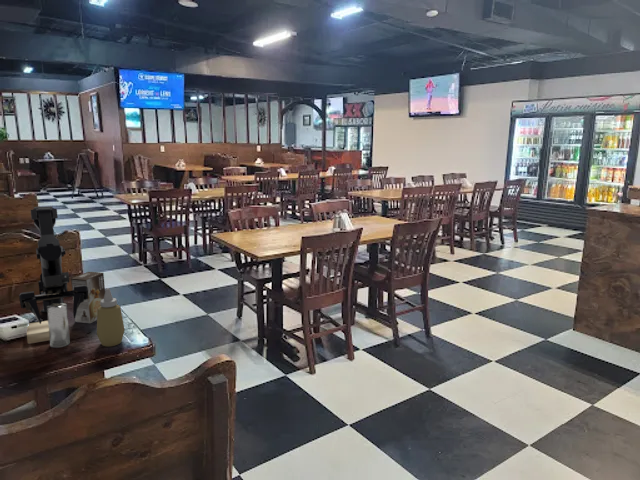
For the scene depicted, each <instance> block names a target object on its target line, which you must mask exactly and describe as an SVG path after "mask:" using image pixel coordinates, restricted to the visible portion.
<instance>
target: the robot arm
mask: <svg viewBox="0 0 640 480" xmlns="http://www.w3.org/2000/svg"><path fill="white" fill-rule="evenodd" d="M30 217H31V218H30V219H31V221H33V225H34V227H36V229H37V230H38V231H39V237H40V238H39V239H38V241H37V247H35V251H36V260H39V262H40V264H41V273H40V275H39V279H40V280H39V281H38V282H37V283H38V290H39V292H38V293H39V294H35V291H34V290H33V291H25V292H20V294H19V295H18V297H19V304H20V308H21V309H25V310H26V311H31V313H33V315H34V316H35V318H36V320H37V322H39V323H40V324H41V322H42V318H41V314H40V313H47V306H49V305H51V304H56V303H64V298H65V299H66V298H71V297H72V298H73V296H74V302H73V303H72V304H73V307H72V309H73V310H72V315H73V319H75V317H76V313H77V309H78V307H79V305H80V303H81V302H84V300H86V299H88V287H87V286H86V285H80V286H74V290H72V289H71V290H68V283H70V275H69V274H70V273H69V271H67V272H66V271H65V272H63V268H62V262H63V261H62V258H63V257H65V255H66V250H65V248H64V247H63V245H60V244H61V243H60V239H58V238H57V237H56V236H55V232H54V227H55V226H56V222H57V221H56V220H57V219H58V218H59V217H58V209H57V208H54V207H53V205H52V206H51V205H50V206H49V205H48V206H35V207H33V209H30ZM37 302H42V308H43V309H41V310H40V311H39V306H38V303H37ZM67 309H68V305H67Z"/></svg>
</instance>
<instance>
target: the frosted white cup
mask: <svg viewBox="0 0 640 480" xmlns="http://www.w3.org/2000/svg"><path fill="white" fill-rule="evenodd" d="M67 306H68V304H67V303H56V304H51V305H49V306H47V312H46V314H47V321H48V327H49V337H50V340H49V346H50V347H51V348H57V349H58V348H63V347H67V346H69V345H70V343H71V341H70V340H71V339H70V328H69V327H70V326H69V314H68V313H69V312H68V308H67Z"/></svg>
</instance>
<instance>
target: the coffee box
mask: <svg viewBox="0 0 640 480" xmlns="http://www.w3.org/2000/svg"><path fill="white" fill-rule="evenodd" d="M70 281H71V291H72V290H74V286H80V285H86V286H87V287H88V299H86V300H84V302H81V303H80V305H79V307H78V309H77V313H76V317H75V318H74V320H75V323H83V324H92V323H94V322H97V311H98V308H99V307H100V306H101V305H100V301H101V300H102V299H104V295H105V289H106V286H105V275H104V272H97V271H87V272H84V273H82V274H79V275H77V276H73V277H72V278H70ZM72 301H73V303H74V296H73V297H72Z"/></svg>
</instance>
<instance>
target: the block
mask: <svg viewBox="0 0 640 480" xmlns="http://www.w3.org/2000/svg"><path fill="white" fill-rule="evenodd" d="M28 324H29V326H28V327H27V326H26V327H27V328H26V340H27V344H35V343H41V342H47V341H50V337H49V327H48V320H44V321H43V320H41V324H40V323H39V322H38V321H37V322H30V323H29V322H28Z"/></svg>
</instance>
